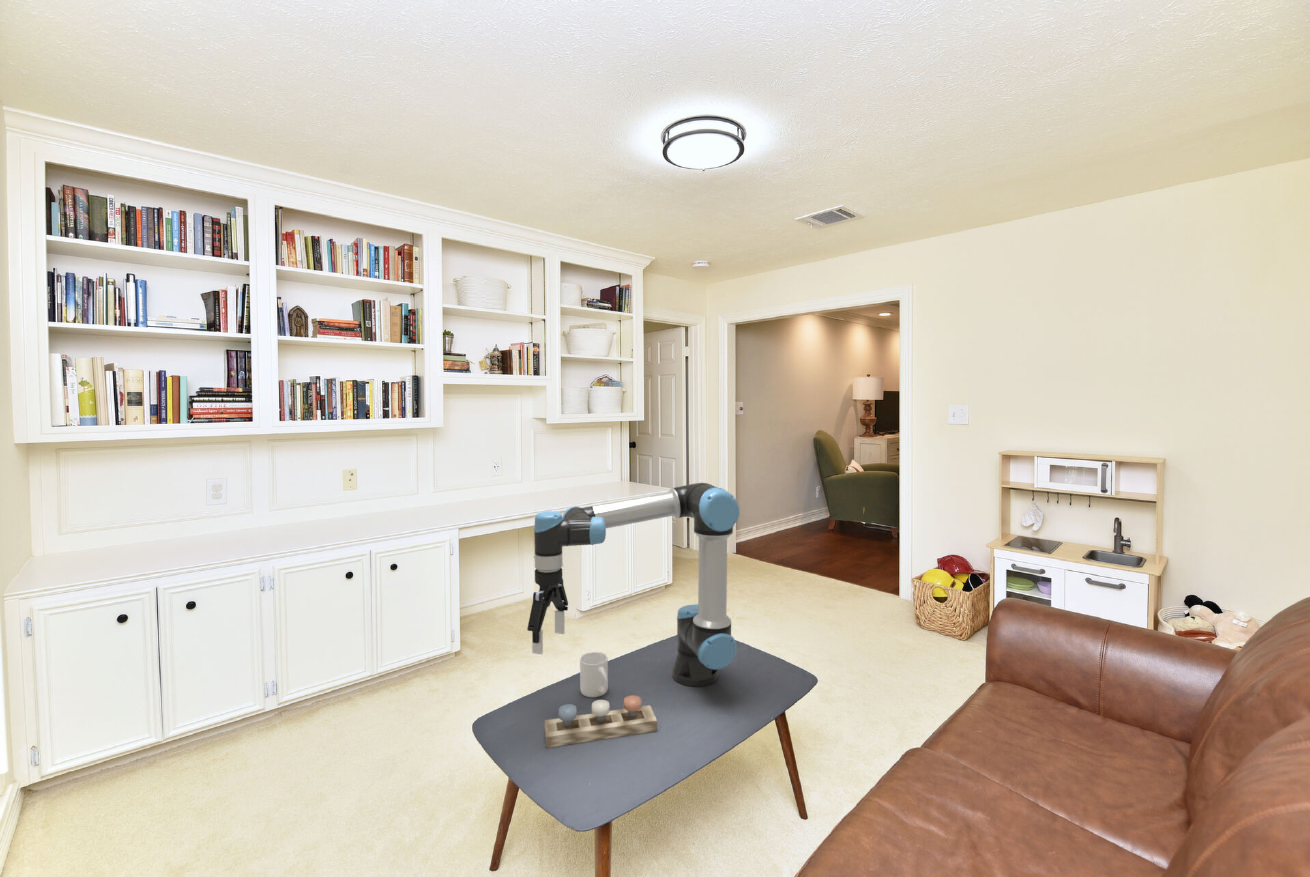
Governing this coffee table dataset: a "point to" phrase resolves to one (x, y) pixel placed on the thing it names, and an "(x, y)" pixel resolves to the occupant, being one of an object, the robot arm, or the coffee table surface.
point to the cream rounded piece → (600, 710)
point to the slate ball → (567, 714)
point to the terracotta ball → (632, 705)
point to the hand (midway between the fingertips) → (549, 642)
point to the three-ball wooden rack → (599, 727)
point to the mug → (594, 674)
